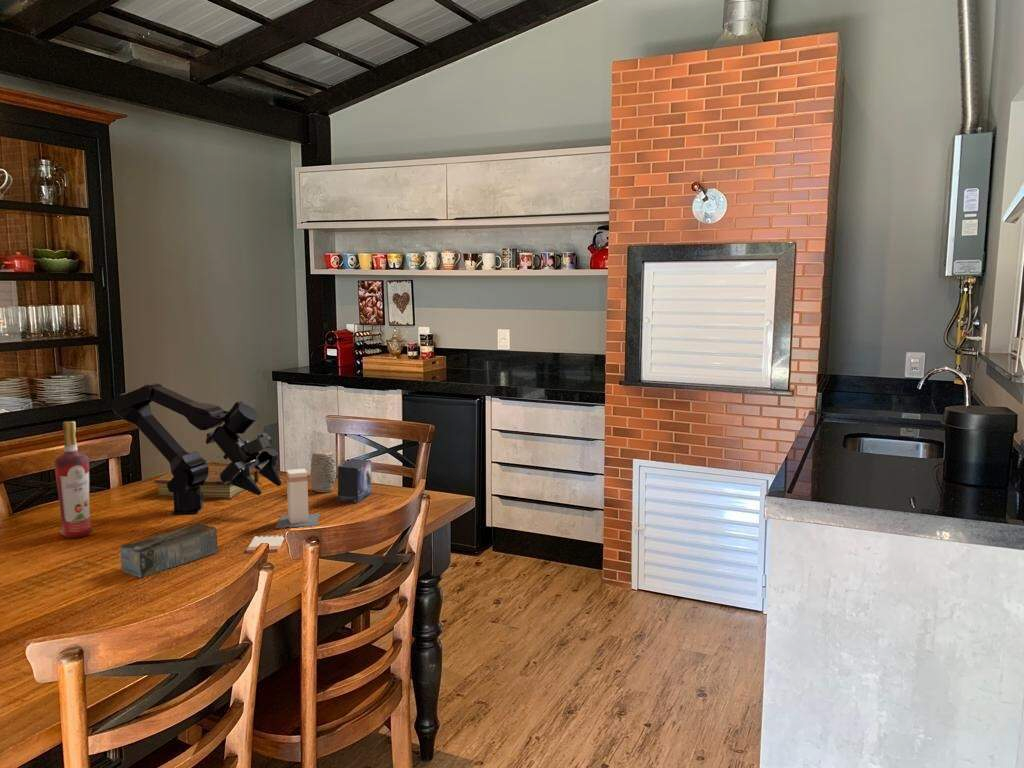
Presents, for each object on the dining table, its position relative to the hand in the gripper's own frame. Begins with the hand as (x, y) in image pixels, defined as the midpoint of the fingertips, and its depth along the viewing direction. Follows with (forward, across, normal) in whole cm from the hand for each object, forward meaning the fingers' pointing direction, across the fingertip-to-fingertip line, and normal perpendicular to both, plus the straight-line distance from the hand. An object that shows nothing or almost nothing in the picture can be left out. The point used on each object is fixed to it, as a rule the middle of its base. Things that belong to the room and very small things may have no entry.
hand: (270, 489), depth 199 cm
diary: (-18, +20, +30) cm, 41 cm away
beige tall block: (+11, 0, 0) cm, 11 cm away
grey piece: (+4, -34, +8) cm, 35 cm away
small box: (+14, +24, -3) cm, 28 cm away
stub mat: (+11, 0, 0) cm, 11 cm away
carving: (+5, +29, +6) cm, 30 cm away
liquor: (-21, -25, +33) cm, 46 cm away
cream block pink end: (+13, -18, -2) cm, 22 cm away
